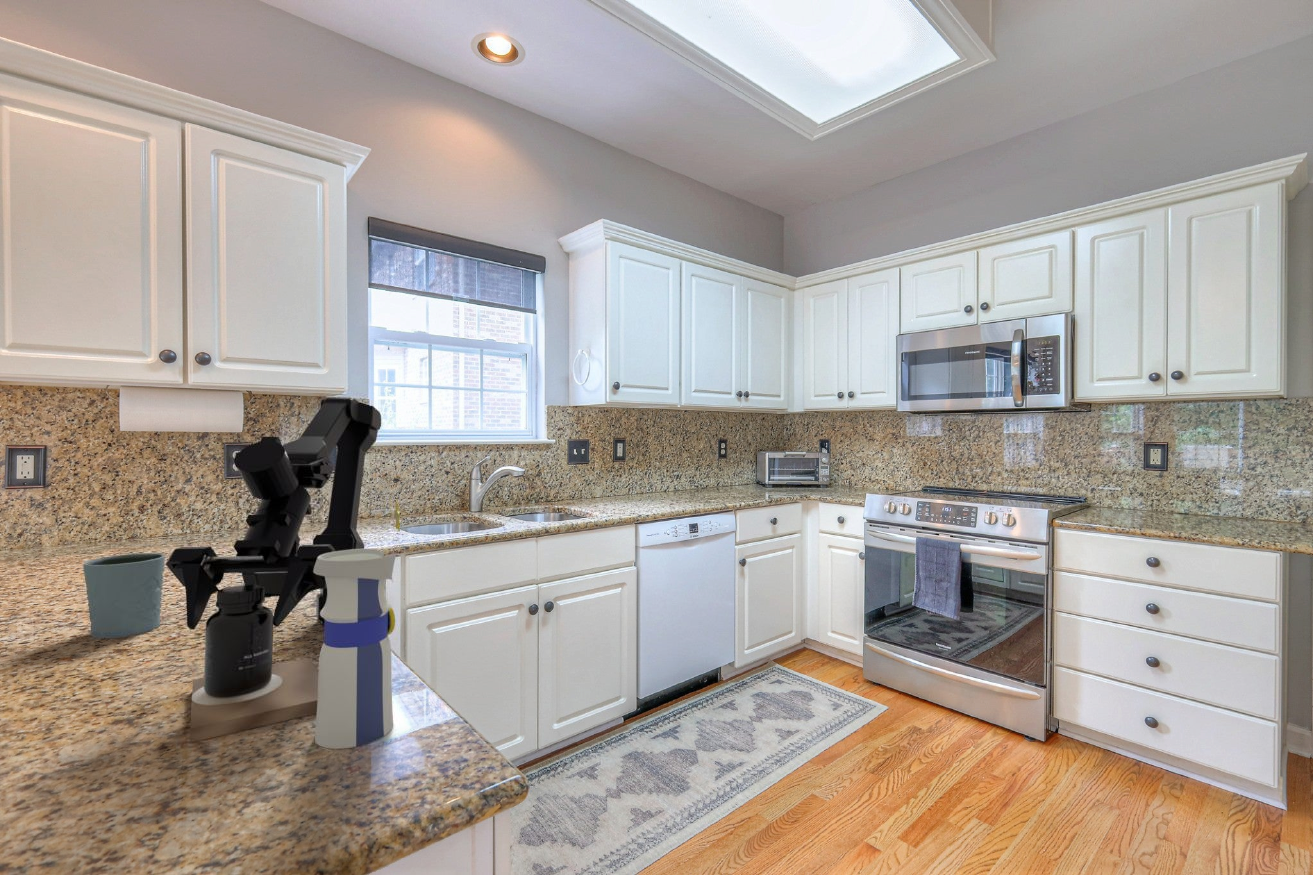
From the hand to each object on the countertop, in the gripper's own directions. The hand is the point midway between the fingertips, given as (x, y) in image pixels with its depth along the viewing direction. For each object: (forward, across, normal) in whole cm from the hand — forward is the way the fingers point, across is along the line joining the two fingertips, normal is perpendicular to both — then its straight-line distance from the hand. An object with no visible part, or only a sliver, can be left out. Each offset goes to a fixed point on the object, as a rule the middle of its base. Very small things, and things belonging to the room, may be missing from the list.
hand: (233, 626), depth 71 cm
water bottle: (+13, -16, -1) cm, 21 cm away
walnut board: (+6, -2, -8) cm, 10 cm away
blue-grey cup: (-17, +33, -31) cm, 48 cm away
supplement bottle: (+5, 0, -7) cm, 8 cm away
